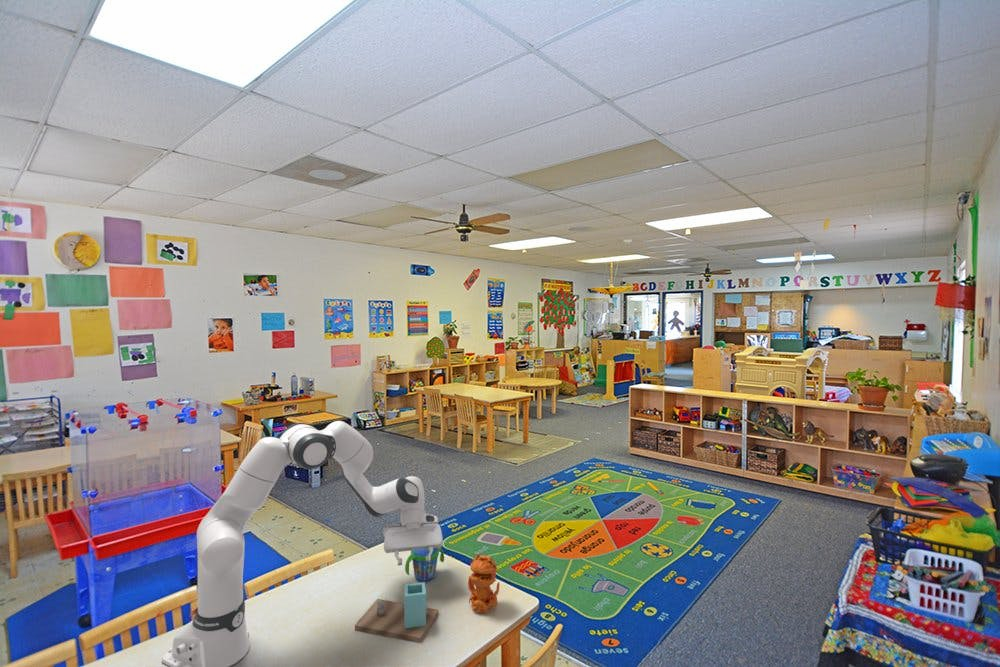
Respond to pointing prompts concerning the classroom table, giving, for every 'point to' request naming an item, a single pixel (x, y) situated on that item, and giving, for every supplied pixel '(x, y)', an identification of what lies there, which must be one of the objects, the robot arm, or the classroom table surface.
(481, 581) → the orange animal figurine
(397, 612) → the pin plate
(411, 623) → the sleeve block
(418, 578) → the snack cup
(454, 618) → the classroom table surface
